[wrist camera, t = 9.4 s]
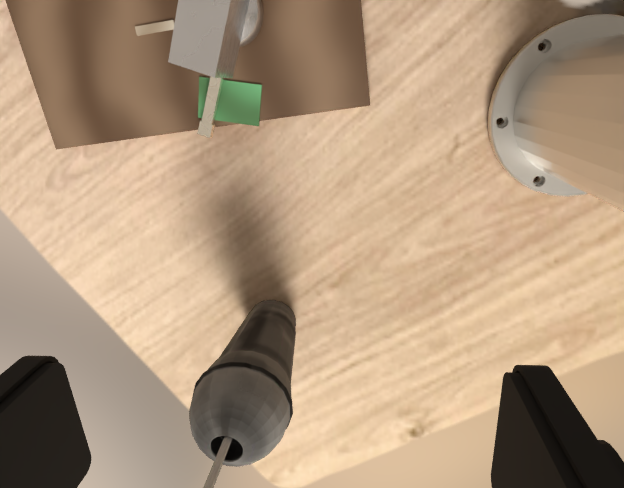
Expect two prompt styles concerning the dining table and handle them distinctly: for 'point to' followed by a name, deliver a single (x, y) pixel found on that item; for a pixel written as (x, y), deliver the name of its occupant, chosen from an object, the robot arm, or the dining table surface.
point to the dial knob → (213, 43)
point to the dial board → (178, 80)
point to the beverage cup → (247, 391)
